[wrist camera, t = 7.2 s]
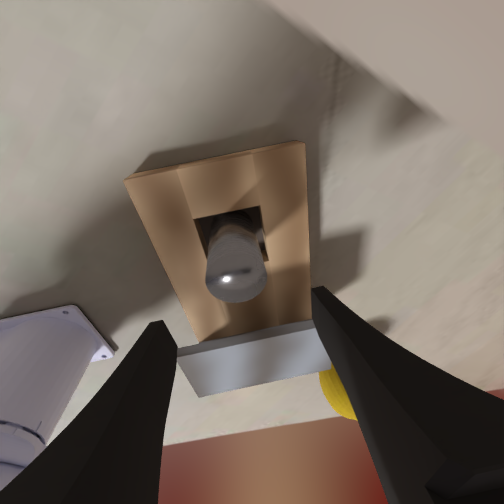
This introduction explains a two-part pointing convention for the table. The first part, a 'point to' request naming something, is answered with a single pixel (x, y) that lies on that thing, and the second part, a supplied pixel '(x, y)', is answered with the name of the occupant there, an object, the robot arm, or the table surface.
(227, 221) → the peg
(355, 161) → the table surface
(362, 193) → the table surface
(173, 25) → the table surface
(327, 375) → the lemon
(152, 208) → the socket board
